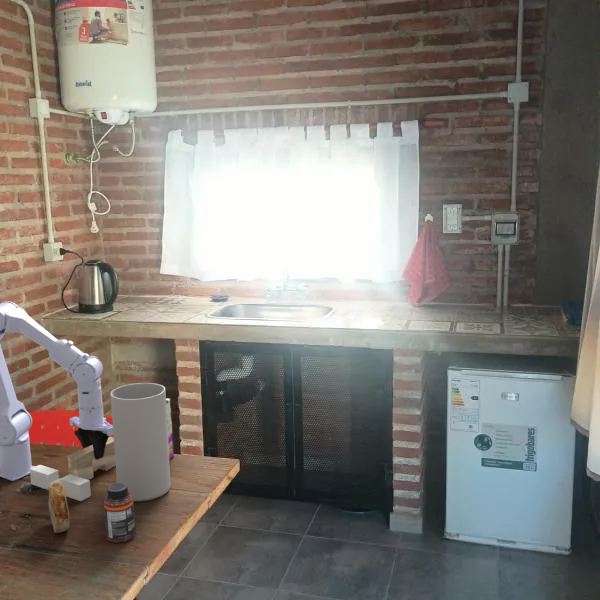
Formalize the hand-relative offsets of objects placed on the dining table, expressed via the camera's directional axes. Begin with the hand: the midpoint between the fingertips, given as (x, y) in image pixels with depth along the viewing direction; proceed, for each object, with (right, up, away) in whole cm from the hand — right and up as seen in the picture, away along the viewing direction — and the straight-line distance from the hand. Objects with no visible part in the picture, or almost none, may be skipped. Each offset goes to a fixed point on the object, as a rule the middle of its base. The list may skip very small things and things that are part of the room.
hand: (94, 456), depth 170 cm
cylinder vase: (+15, -6, -9) cm, 19 cm away
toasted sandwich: (+1, -9, -26) cm, 28 cm away
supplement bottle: (+15, -10, -30) cm, 35 cm away
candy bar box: (+15, -3, +6) cm, 16 cm away
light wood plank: (0, -4, +1) cm, 4 cm away
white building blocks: (-6, -6, -8) cm, 12 cm away
